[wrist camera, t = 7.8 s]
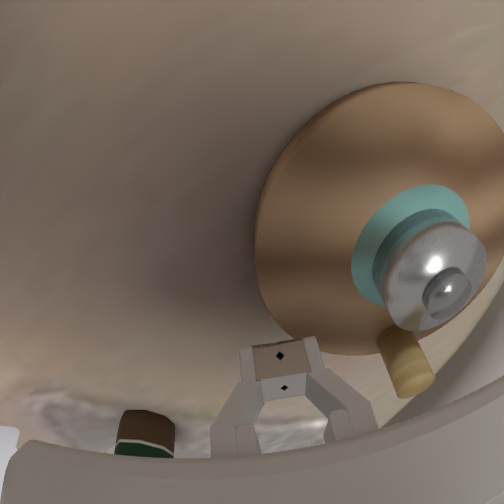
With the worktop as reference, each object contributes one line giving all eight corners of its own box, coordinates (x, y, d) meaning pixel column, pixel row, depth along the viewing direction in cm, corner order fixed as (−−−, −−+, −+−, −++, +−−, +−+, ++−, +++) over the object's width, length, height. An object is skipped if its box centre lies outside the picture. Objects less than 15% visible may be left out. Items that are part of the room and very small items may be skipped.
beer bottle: (187, 425, 35) (186, 586, 15) (152, 434, 37) (144, 576, 17) (142, 403, 31) (128, 585, 12) (109, 414, 34) (91, 569, 14)
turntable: (231, 84, 13) (230, 92, 7) (516, 102, 13) (587, 134, 7) (267, 353, 24) (276, 429, 18) (465, 310, 24) (498, 363, 18)
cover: (388, 204, 15) (426, 245, 12) (474, 212, 15) (511, 246, 12) (359, 303, 19) (380, 350, 15) (439, 296, 19) (464, 334, 16)
